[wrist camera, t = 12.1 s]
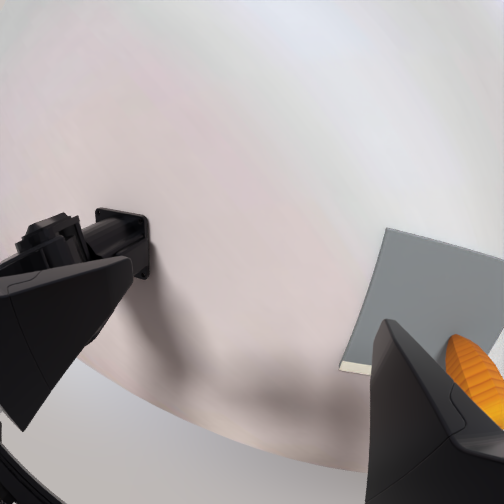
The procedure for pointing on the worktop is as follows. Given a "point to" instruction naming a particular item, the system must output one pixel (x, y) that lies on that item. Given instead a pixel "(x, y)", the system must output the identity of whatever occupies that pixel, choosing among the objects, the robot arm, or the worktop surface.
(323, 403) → the worktop surface
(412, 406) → the robot arm
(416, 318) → the mat
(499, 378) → the carrot
